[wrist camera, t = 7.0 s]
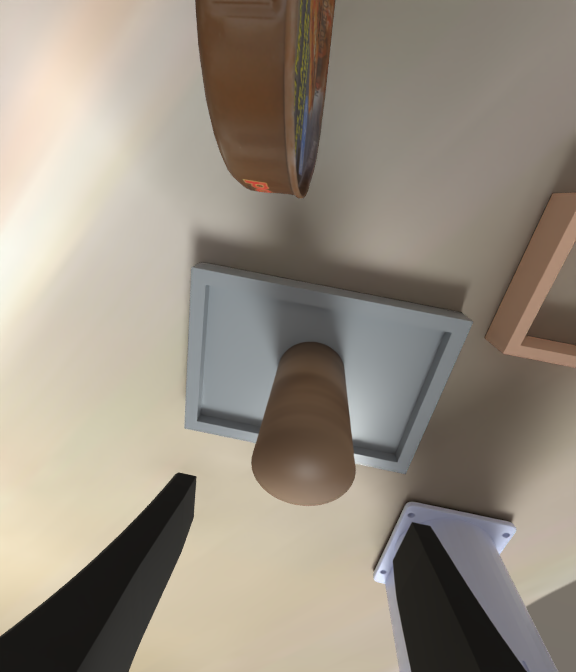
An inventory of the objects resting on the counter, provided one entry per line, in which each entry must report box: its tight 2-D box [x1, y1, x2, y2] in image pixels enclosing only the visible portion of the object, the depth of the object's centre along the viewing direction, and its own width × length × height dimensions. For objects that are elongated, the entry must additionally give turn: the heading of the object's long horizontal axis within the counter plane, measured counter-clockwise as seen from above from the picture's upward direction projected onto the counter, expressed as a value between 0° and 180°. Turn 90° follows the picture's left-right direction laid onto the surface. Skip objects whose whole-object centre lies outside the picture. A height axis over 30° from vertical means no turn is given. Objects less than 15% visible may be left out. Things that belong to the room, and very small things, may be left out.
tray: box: [185, 262, 473, 474], centre depth 19 cm, size 11×15×2 cm
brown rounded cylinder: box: [251, 342, 356, 506], centre depth 15 cm, size 4×4×8 cm
